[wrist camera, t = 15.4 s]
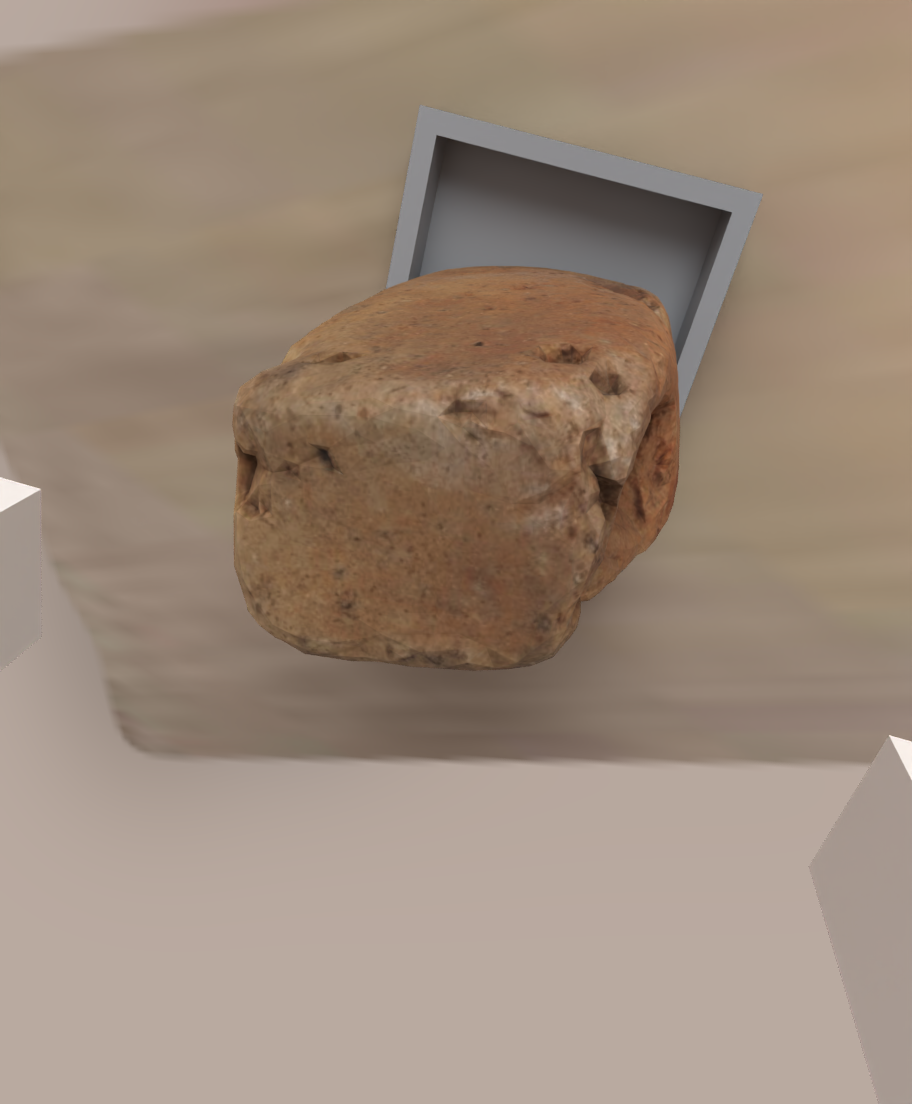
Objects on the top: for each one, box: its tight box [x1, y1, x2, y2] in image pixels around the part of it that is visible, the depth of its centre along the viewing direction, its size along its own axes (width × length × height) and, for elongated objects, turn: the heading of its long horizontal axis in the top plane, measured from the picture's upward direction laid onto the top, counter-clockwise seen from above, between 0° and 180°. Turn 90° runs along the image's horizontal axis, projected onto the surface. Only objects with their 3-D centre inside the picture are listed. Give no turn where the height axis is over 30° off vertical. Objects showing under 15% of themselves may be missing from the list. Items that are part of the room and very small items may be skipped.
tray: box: [386, 105, 763, 572], centre depth 34 cm, size 13×16×3 cm
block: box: [232, 266, 680, 671], centre depth 25 cm, size 11×8×20 cm
